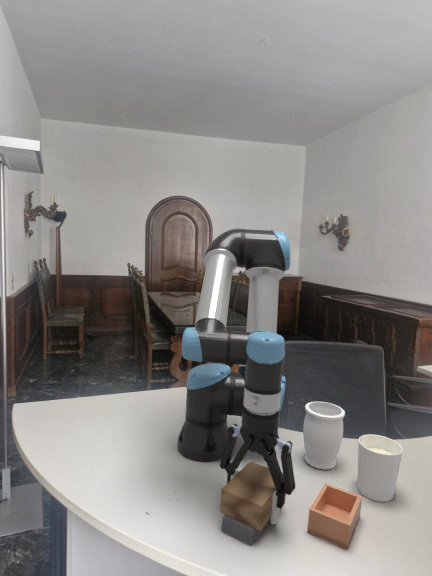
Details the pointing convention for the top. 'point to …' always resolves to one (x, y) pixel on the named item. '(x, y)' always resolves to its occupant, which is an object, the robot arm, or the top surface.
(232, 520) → the block
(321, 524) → the dish
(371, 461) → the candle holder
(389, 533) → the top surface
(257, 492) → the brown wooden block
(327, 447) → the jar
